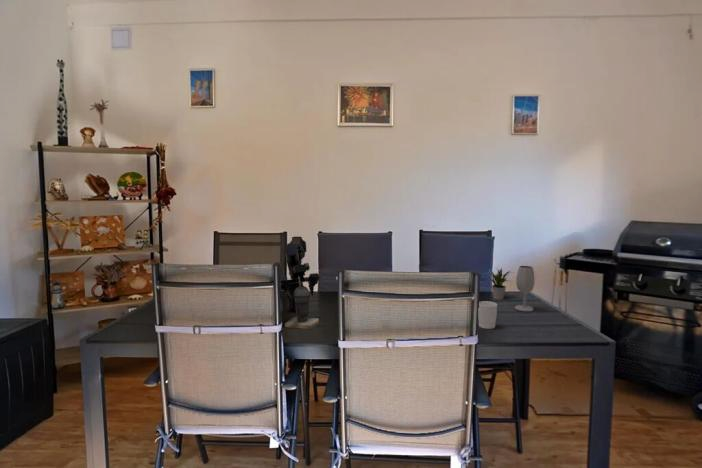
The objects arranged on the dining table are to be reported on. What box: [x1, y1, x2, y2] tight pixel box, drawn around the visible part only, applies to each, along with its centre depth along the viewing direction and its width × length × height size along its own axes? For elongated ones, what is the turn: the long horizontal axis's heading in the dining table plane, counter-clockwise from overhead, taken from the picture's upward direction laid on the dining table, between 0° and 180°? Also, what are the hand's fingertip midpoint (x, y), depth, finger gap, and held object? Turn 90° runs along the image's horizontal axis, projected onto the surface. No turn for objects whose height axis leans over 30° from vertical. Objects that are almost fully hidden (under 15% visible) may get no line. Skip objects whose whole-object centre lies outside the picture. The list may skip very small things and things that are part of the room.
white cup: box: [477, 300, 498, 330], centre depth 190 cm, size 8×8×10 cm
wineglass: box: [514, 265, 536, 313], centre depth 213 cm, size 9×9×21 cm
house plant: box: [488, 267, 515, 300], centre depth 233 cm, size 14×14×16 cm
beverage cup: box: [293, 276, 311, 322], centre depth 194 cm, size 7×7×20 cm
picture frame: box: [284, 316, 320, 330], centre depth 195 cm, size 12×10×2 cm
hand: (302, 297), depth 193 cm, fingers open, 9 cm apart
